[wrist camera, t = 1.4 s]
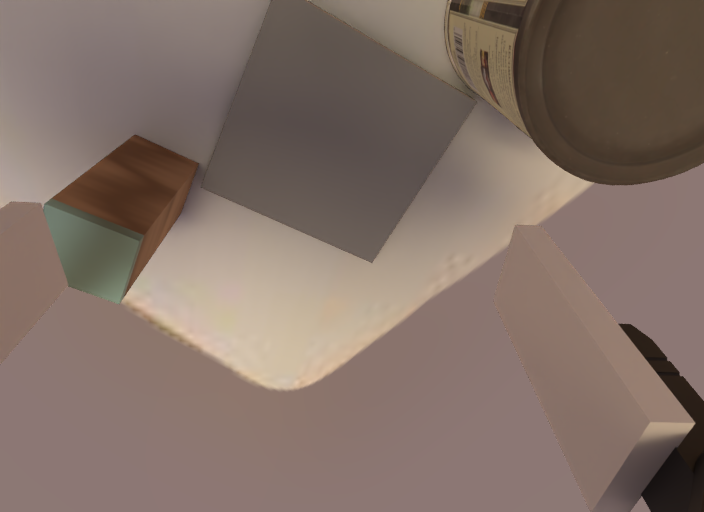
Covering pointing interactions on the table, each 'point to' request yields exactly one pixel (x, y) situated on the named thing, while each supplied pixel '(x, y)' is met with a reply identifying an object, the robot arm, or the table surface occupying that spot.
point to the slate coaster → (332, 130)
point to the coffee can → (590, 79)
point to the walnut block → (118, 216)
